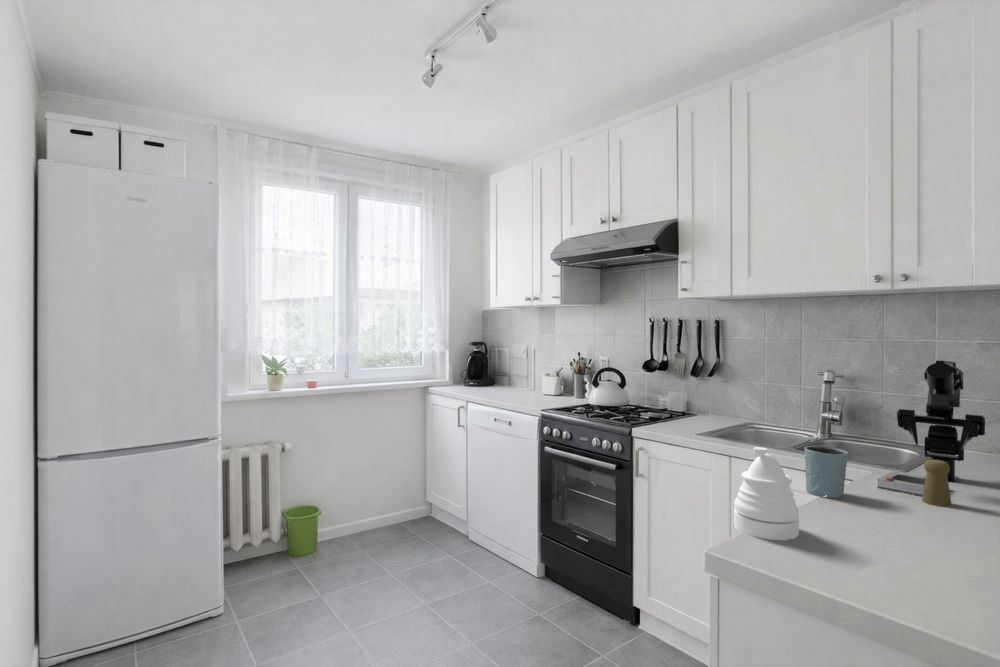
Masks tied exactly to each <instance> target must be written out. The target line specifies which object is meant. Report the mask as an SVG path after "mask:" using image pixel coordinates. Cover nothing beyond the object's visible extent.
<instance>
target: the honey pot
mask: <svg viewBox="0 0 1000 667" xmlns="http://www.w3.org/2000/svg"><path fill="white" fill-rule="evenodd" d="M753 453H754V454H755V456H756V458H755V459H754V460H753V461H752V462H751V464H750V466H749V468H748V470H745V471H743V472H742V473H741V475H740V476H741V478H742V479H743V480H742V484H741V485H740V487H739V488H738V489H739V490H738V492H737V497H736V498H735V500H734V503H733V505H734V507H733V508H734V510H733V526H734V527H735V529H736V530H737V531H739V532H741V533H743V534H745V535H748V536H751V537H755V538H758V539H763V540H769V541H790V540H789V539H792V540H794V538H795V539H797V538H798V537H799V536H800V535H799V534H800V533H799V532H800V531H799V530H800V529H799V528H800V516H799V515H800V510H799V507H798V506H797V504H796V502H797V501H796V499H795V498H794V496H795V495H794V492H793V491H792V488H791V485H790V484H792V482H793V479H792V478H791V477H790V476H789V475H787V474H786V473H785V472H784V470H783V468H782V466H781V464H780V463H779V462H778V460H777V459H776V458H775V456H773V455H771V454H769V453H767V448H765V447H761V446H757V447H756V446H755V447H753ZM749 530H751V531H749ZM748 531H749V532H748ZM745 532H747V533H745ZM797 536H798V537H797ZM796 537H797V538H796Z"/></svg>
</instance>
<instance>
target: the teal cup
mask: <svg viewBox="0 0 1000 667" xmlns="http://www.w3.org/2000/svg"><path fill="white" fill-rule="evenodd" d="M804 459H805V461H804V462H805V468H804V471H805V480H806V481H805V487H806V488H805V491H806V493H807V494H810V495H812V496H815V497H819V498H824V497H823V496H825V495H827V497H829V498H828V499H842V498H843V496H844V491H845V490H844V489H845V481H846V475H847V465H848V459H849V452H848V451H846V450H844V449H842V448H837V447H831V446H824V445H823V446H822V445H809V446H805V447H804Z"/></svg>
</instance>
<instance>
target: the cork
mask: <svg viewBox="0 0 1000 667" xmlns="http://www.w3.org/2000/svg"><path fill="white" fill-rule="evenodd" d="M923 467H924V470H925V471H926V476H925V477H926V480H925V485H924V491H923V496H921V497H922V498H921V502H922V501H923V502H922V503H924V502H925V503H924V504H926V503H927V505H930V504H931V505H930V506H934V505H935V507H942V508H949V507H952V500H951V499H952V498H951V493H950V492H951V491H950V487H949V481H948V478H947V474H948V473H949V471H950V466H949V464H948V463H947V462H944V461H941V460H931V459H927V460H925V461H924V464H923Z"/></svg>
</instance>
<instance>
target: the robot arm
mask: <svg viewBox="0 0 1000 667" xmlns="http://www.w3.org/2000/svg"><path fill="white" fill-rule="evenodd" d="M923 373H924V374H923V375H924V378H923V379H924V380H925V382H927V386H928V393H927V402H926V406H925V414H924V415H923V414H916V410H915V409H906V408H899V409H898V410H896V411H897V412H896V420H897V426H898V427H899V428H902V429H903V430H905V431H908V432H909V434H910V436H911V437H912V440H913V441H914V442H913V443H914V444H915V445H916V446H918V444H919V438H918V431H917V430H918V429H917V423H921V424H930V425H929V428H928V431H927V436H924V457H925V458H930V460H941V461H944V462H947V463H948V464H949V466H950V471H949V473H948V474H947V478H948V482H952V483H954V482H956V481H957V480H959V479H958V478H960V477H959V476H956V461H958V462H962V461H965V446H967V443H969V441H971V440H972V439H973V438H978V437H979V436H982V437H983V436H985V434H986V417H984V415H982V414H981V415H980V414H970V413H969V414H968V413H965V419H964V418H963V419H962V418H961V419H960V418H954V408H960V407H961V405H960V404H961V391H963V390H964V372H963V371H961V369H959V368H958V367H957V363H956V362H954V361H949V360H948V361H946V360H936V361H935V363H932V364H930V365H928V367H926V369H925V371H924V372H923ZM957 428H962V432H961V436H960V440H959V434H958V430H957Z"/></svg>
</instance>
